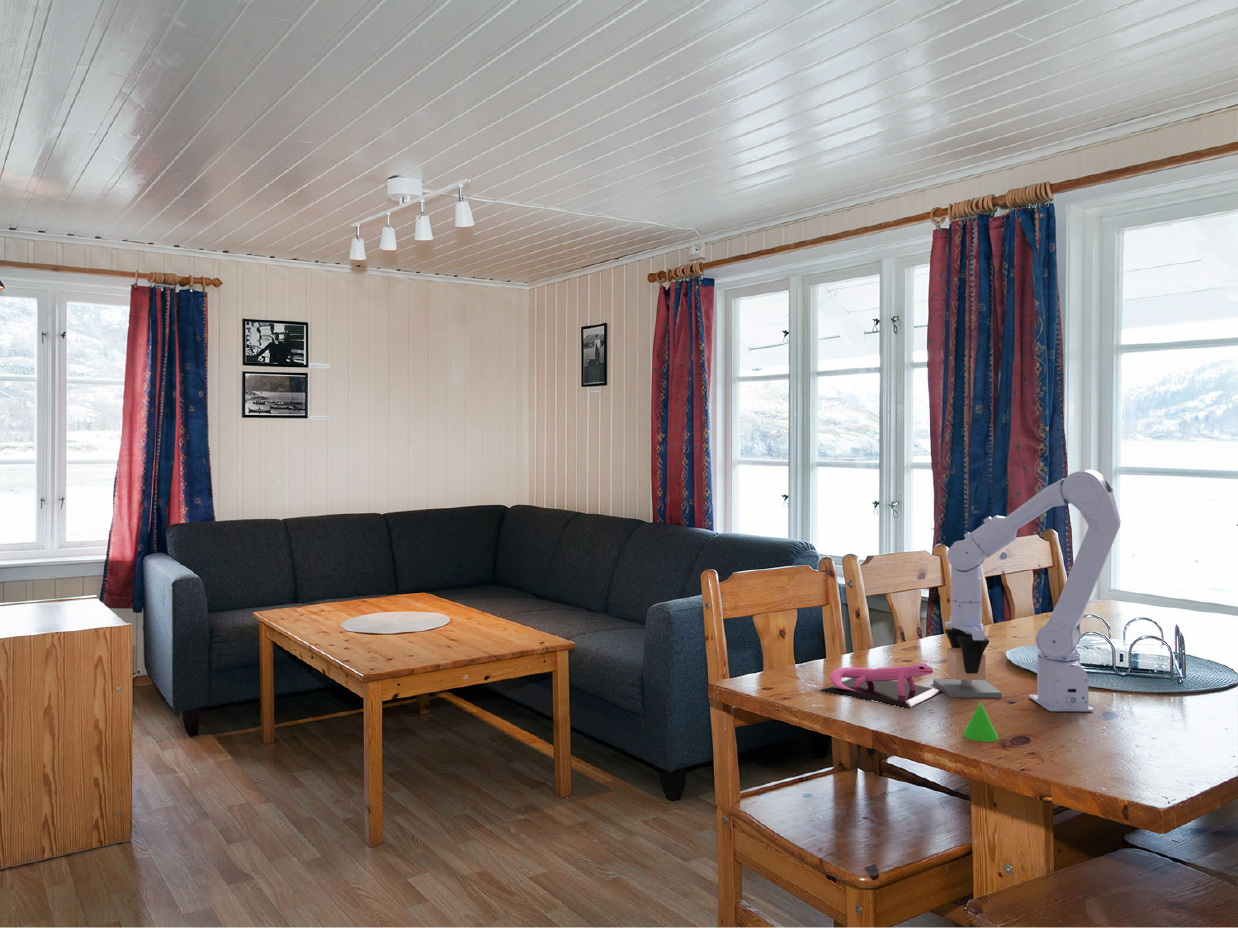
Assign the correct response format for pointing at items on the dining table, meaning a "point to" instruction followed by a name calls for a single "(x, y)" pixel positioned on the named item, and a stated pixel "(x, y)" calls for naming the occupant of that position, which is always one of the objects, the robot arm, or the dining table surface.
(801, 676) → the dining table surface
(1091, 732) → the dining table surface
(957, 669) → the collar
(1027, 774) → the dining table surface
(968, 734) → the green cone
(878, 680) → the lizard figurine
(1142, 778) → the dining table surface
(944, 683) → the post plate
